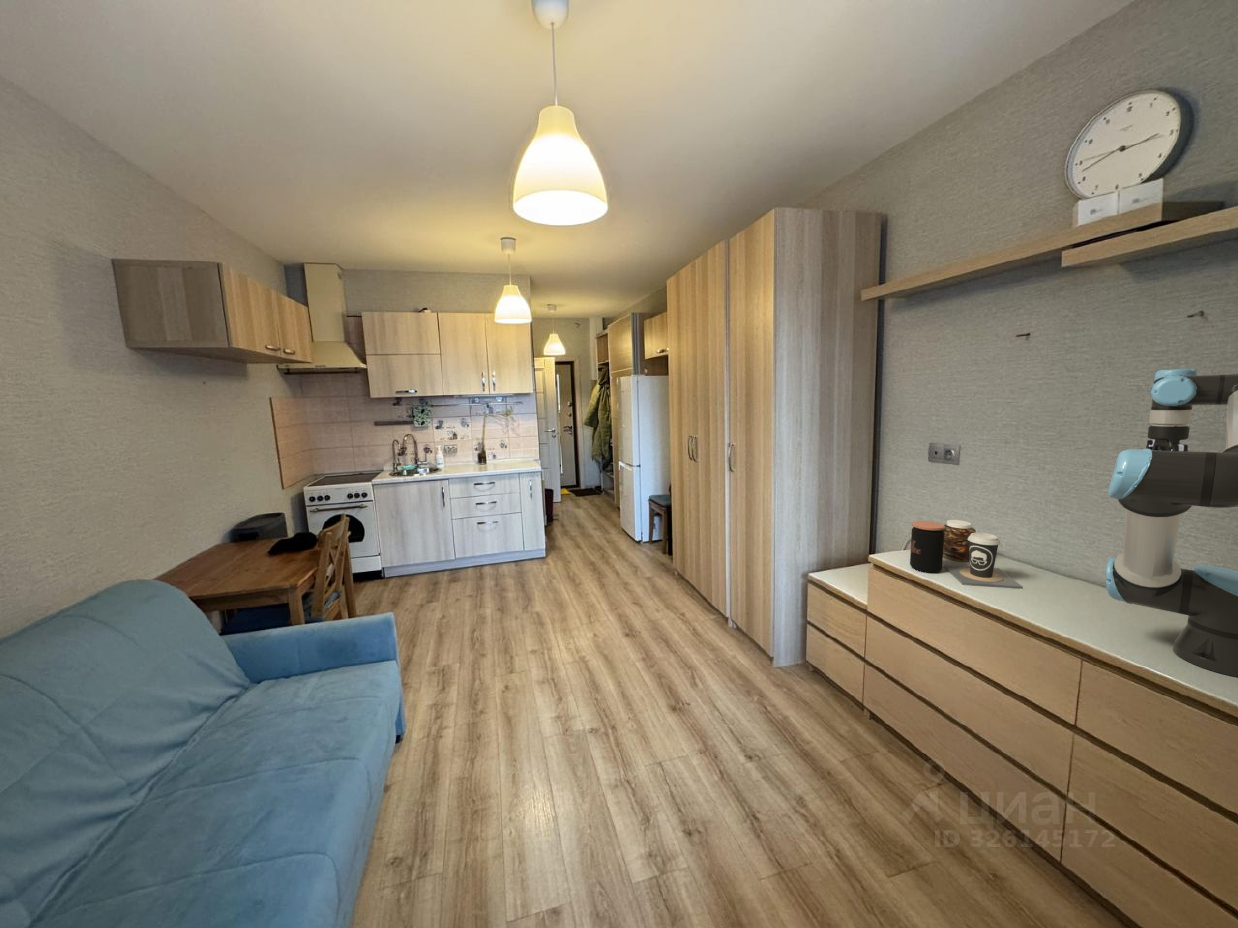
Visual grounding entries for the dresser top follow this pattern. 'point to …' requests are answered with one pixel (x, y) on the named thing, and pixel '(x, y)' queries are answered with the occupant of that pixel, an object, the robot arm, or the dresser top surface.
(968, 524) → the jar
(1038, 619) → the dresser top surface
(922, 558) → the coffee jar
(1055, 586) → the dresser top surface
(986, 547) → the coffee cup
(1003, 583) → the trivet
